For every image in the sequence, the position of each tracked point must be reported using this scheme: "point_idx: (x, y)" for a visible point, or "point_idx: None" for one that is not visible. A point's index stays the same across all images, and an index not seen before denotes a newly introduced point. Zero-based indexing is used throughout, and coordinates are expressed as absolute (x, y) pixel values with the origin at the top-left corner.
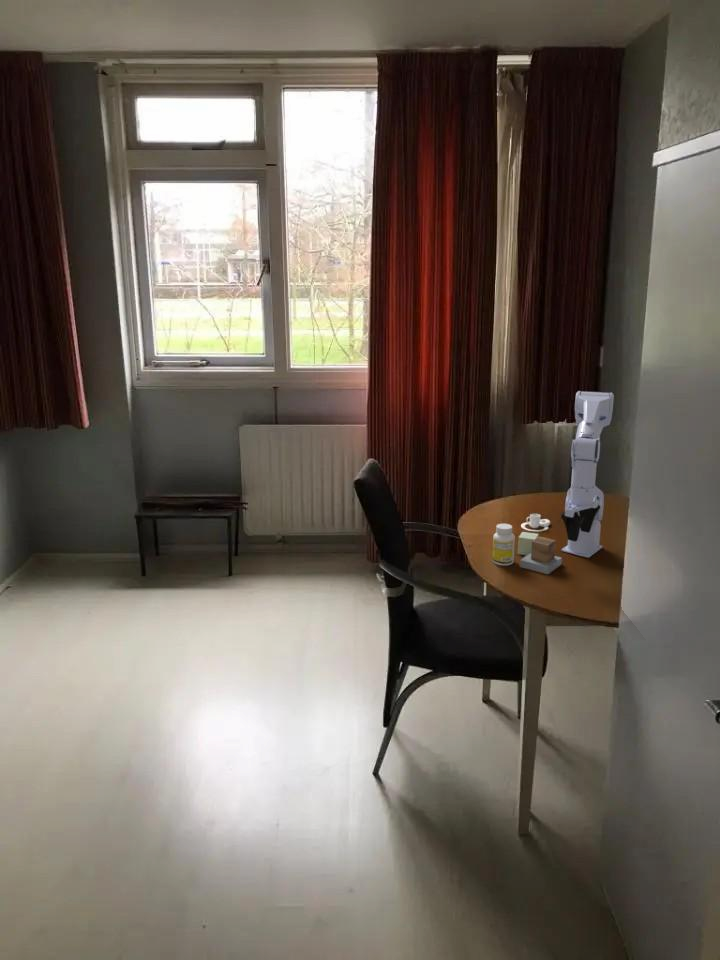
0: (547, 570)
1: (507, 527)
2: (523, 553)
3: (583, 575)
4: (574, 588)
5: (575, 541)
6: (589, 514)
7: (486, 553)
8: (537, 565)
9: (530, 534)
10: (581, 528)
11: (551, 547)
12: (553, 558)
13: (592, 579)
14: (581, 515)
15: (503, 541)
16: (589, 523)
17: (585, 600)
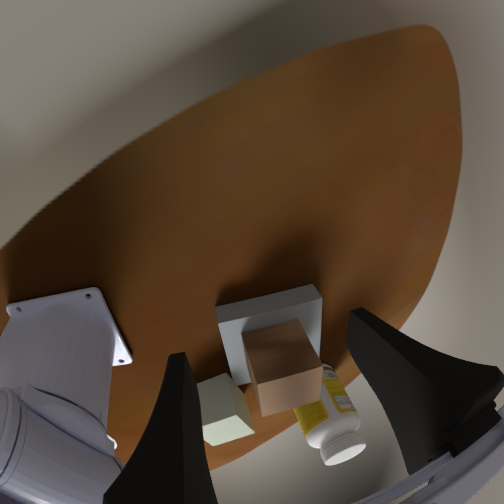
0: (317, 293)
1: (350, 450)
2: (238, 390)
3: (241, 207)
4: (356, 170)
5: (363, 308)
6: (195, 468)
7: (288, 412)
8: (319, 324)
9: (212, 434)
10: (197, 393)
11: (284, 361)
12: (248, 331)
13: (250, 164)
14: (207, 469)
15: (358, 415)
16: (187, 404)
17: (404, 105)
